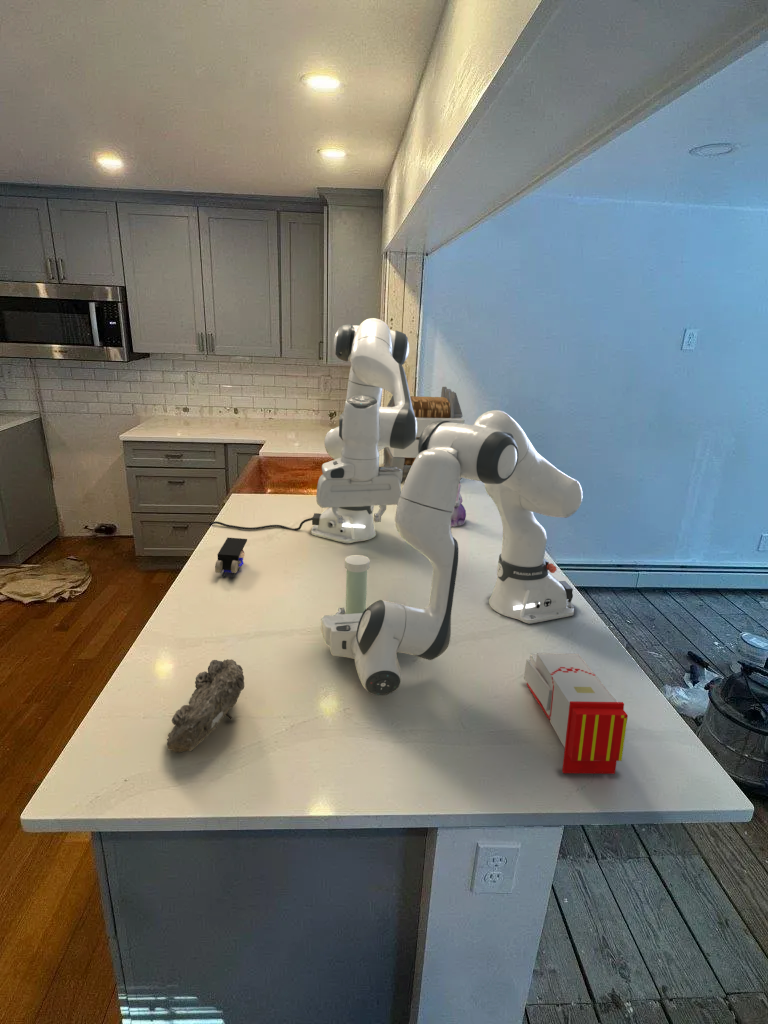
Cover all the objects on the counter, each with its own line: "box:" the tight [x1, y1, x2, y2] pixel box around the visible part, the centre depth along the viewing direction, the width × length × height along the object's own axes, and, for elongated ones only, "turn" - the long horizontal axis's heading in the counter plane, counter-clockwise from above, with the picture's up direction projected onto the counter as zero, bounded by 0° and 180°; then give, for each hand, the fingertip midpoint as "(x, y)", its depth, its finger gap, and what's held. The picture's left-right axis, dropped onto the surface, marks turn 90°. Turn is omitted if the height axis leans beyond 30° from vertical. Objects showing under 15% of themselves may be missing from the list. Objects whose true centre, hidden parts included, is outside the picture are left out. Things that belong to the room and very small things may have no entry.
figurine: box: [451, 483, 467, 528], centre depth 210 cm, size 9×10×15 cm
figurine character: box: [214, 537, 248, 578], centre depth 166 cm, size 7×8×15 cm
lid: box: [344, 554, 371, 572], centre depth 141 cm, size 6×6×2 cm
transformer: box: [383, 386, 465, 483], centre depth 268 cm, size 34×33×41 cm
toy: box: [523, 652, 628, 775], centre depth 110 cm, size 12×13×30 cm
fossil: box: [166, 658, 245, 754], centre depth 106 cm, size 22×10×15 cm
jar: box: [345, 569, 368, 614], centre depth 143 cm, size 5×5×15 cm
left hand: (358, 522), depth 137 cm, fingers open, 8 cm apart
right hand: (360, 609), depth 138 cm, fingers open, 8 cm apart
